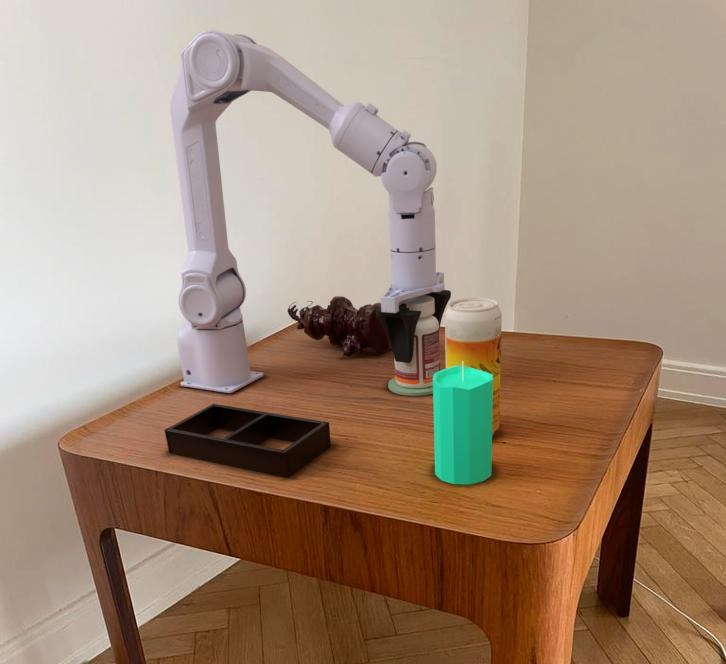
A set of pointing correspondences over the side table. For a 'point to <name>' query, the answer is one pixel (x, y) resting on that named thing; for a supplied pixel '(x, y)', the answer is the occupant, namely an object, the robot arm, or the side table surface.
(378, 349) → the figurine
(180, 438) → the tray
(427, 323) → the pill bottle
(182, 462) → the side table surface
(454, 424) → the candle
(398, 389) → the mat
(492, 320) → the beer can
